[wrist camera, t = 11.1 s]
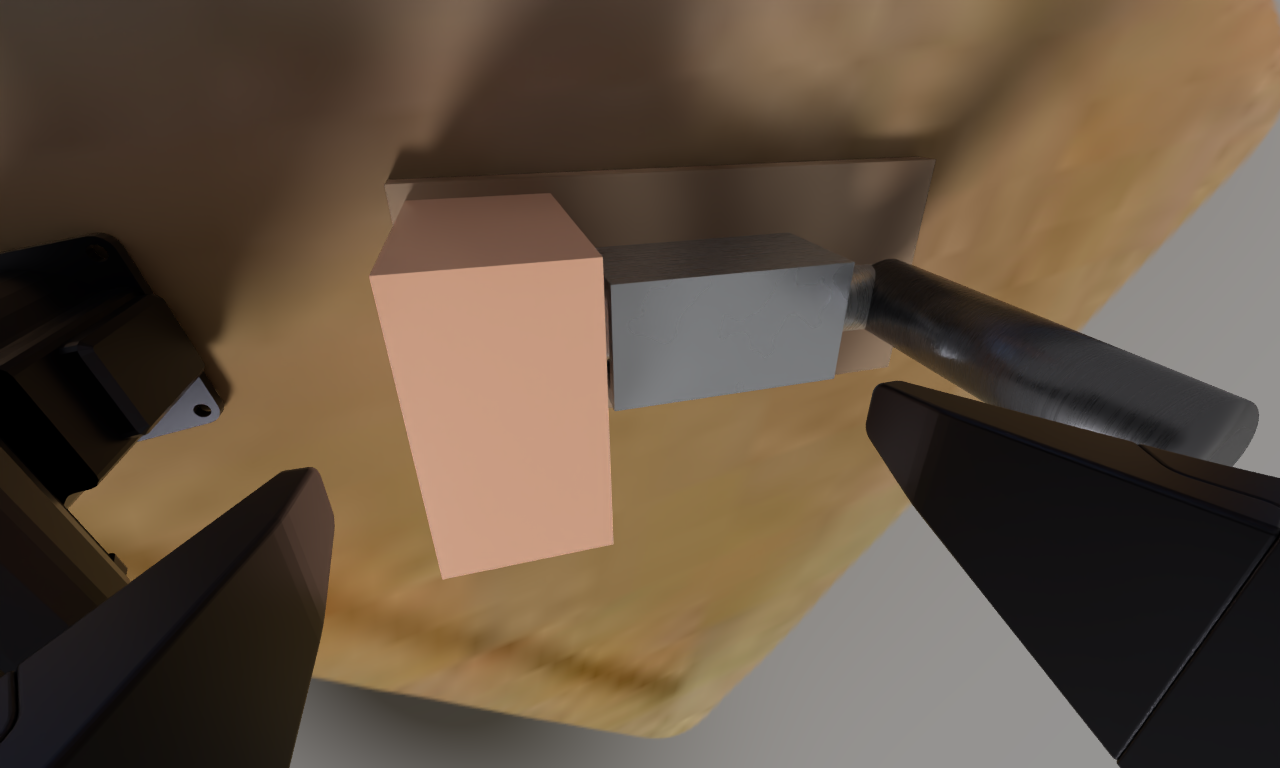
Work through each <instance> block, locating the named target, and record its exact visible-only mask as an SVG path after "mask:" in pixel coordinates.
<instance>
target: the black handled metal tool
mask: <svg viewBox="0 0 1280 768" xmlns="http://www.w3.org/2000/svg"><path fill="white" fill-rule="evenodd" d="M604 302H605V329H606V356H607V361H610V356H609V326H608V297H607V295H606V293H605V292H604ZM858 329H865V330H866V331H868V332H870V333H871V334H873V335H875V336H876V337H878V338H880V339H881V340H883V341H884V342H886V343H888V344H889V345H891V346H893V347H894V348H896V349H898V350H899V351H901V352H903V353H904V354H906V355H907V356H909V357H911V358H912V359H914V360H916V361H917V362H919V363H921V364H922V365H924V366H926V367H927V368H929V369H930V370H932V371H934V372H935V373H937V374H939V375H940V376H942V377H944V378H945V379H947V380H949V381H950V382H952V383H953V384H955V385H957V386H958V387H960V388H962V389H963V390H965V391H967V392H968V393H970V394H972V395H973V396H975V397H976V398H978V399H980V400H981V401H983V402H985V403H987V404H991V405H995V406H998V407H1002V408H1006V409H1010V410H1014V411H1018V412H1021V413H1025V414H1029V415H1033V416H1037V417H1040V418H1044V419H1048V420H1052V421H1056V422H1059V423H1063V424H1067V425H1071V426H1075V427H1078V428H1082V429H1086V430H1090V431H1094V432H1097V433H1101V434H1105V435H1109V436H1113V437H1117V438H1120V439H1124V440H1128V441H1132V442H1134V443H1136V444H1137V445H1138V444H1144V445H1147V446H1151V447H1155V448H1159V449H1163V450H1166V451H1170V452H1174V453H1178V454H1182V455H1186V456H1190V457H1194V458H1198V459H1202V460H1206V461H1210V462H1214V463H1218V464H1222V465H1226V466H1230V467H1232V466H1233V465H1234V464H1235V463H1236V462H1237V461H1238V459H1239V458H1240V457H1241V455H1242V454H1243V453H1244V451H1245V450H1246V448H1247V447H1248V445H1249V443H1250V442H1251V439H1252V438H1253V436H1254V434H1255V431H1256V428H1257V425H1258V421H1259V420H1258V419H1259V412H1258V409H1257V406H1256V405H1255V404H1254V403H1253V402H1251V401H1249V400H1247V399H1244V398H1242V397H1239V396H1237V395H1234V394H1232V393H1229V392H1226V391H1224V390H1222V389H1219V388H1217V387H1214V386H1212V385H1209V384H1207V383H1204V382H1202V381H1199V380H1197V379H1194V378H1192V377H1189V376H1187V375H1184V374H1182V373H1179V372H1177V371H1174V370H1172V369H1169V368H1167V367H1164V366H1162V365H1160V364H1157V363H1155V362H1152V361H1150V360H1147V359H1145V358H1142V357H1140V356H1137V355H1135V354H1132V353H1130V352H1127V351H1125V350H1122V349H1120V348H1117V347H1114V346H1112V345H1110V344H1107V343H1105V342H1102V341H1100V340H1097V339H1095V338H1092V337H1090V336H1087V335H1085V334H1082V333H1080V332H1077V331H1075V330H1072V329H1070V328H1067V327H1065V326H1063V325H1060V324H1058V323H1055V322H1053V321H1050V320H1048V319H1045V318H1043V317H1040V316H1038V315H1035V314H1033V313H1030V312H1028V311H1025V310H1023V309H1020V308H1018V307H1015V306H1013V305H1010V304H1008V303H1005V302H1003V301H1000V300H998V299H995V298H993V297H990V296H988V295H985V294H983V293H980V292H978V291H975V290H973V289H970V288H968V287H966V286H963V285H961V284H958V283H956V282H953V281H951V280H948V279H946V278H943V277H941V276H938V275H936V274H933V273H931V272H928V271H926V270H923V269H921V268H918V267H916V266H913V265H911V264H908V263H906V262H903V261H901V260H898V259H885V260H881V261H879V262H876V263H875V264H865V265H854V270H853V276H852V281H851V287H850V292H849V298H848V304H847V309H846V315H845V320H844V326H843V331H850V330H858Z"/></svg>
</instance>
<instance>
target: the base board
mask: <svg viewBox="0 0 1280 768" xmlns="http://www.w3.org/2000/svg"><path fill="white" fill-rule="evenodd" d="M935 161H936V159H930V158H924V157H897V158H874V159H851V160H828V161H805V162H782V163H759V164H736V165H713V166H690V167H667V168H644V169H621V170H598V171H575V172H552V173H529V174H506V175H483V176H460V177H437V178H414V179H391V180H387V181H386V183H385V184H384V187H385V191H386V196H387V201H388V205H389V210H390V215H391V220H392V224H393V225H394V223H395V220H396V218H397V216H398V214H399V212H400V210H401V208H402V206H403V204H404V202H405V201H407V200H427V199H446V198H465V197H484V196H503V195H522V194H542V193H551V194H552V196H553V197H554V198H555V199H556V201H557V202H558V203H559V204H560V205H561V207H562V208H563V209H564V210H565V212H566V213H567V214H568V215H569V216H570V218H571V219H572V220H573V221H574V223H575V224H576V225H577V226H578V227H579V229H580V230H581V231H582V232H583V234H584V235H585V236H586V237H587V238H588V240H589V241H590V242H591V243H592V245H593V246H594V247H607V246H620V245H633V244H646V243H659V242H672V241H685V240H698V239H711V238H724V237H737V236H750V235H763V234H776V233H792V234H794V235H796V236H798V237H800V238H803V239H805V240H807V241H809V242H812V243H814V244H816V245H818V246H820V247H823V248H825V249H827V250H829V251H831V252H834V253H836V254H838V255H840V256H842V257H845V258H847V259H849V260H851V261H853V262H855V265H865V264H875V263H876V262H879V261H881V260H885V259H898V260H901V261H903V262H906V263H908V264H911V265H912V261H913V257H914V252H915V248H916V244H917V239H918V235H919V231H920V226H921V222H922V218H923V213H924V209H925V205H926V200H927V196H928V192H929V187H930V183H931V179H932V174H933V170H934V166H935ZM892 348H893V346H891V345H889V344H888V343H886V342H884V341H883V340H881V339H880V338H878V337H876V336H875V335H873V334H871V333H870V332H868V331H866V330H865V329H858V330H850V331H842V337H841V342H840V348H839V353H838V359H837V364H836V370H835V375H836V374H843V373H850V372H857V371H864V370H870V369H877V368H884V367H888V365H889V361H890V357H891V352H892ZM608 408H612V404H611V402H610V400H609V398H608Z"/></svg>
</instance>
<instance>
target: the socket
mask: <svg viewBox="0 0 1280 768" xmlns="http://www.w3.org/2000/svg"><path fill="white" fill-rule="evenodd" d="M369 278H370V282H371V286H372V290H373V294H374V299H375V303H376V307H377V311H378V315H379V319H380V323H381V328H382V332H383V336H384V340H385V344H386V348H387V352H388V357H389V361H390V365H391V369H392V373H393V377H394V381H395V385H396V390H397V394H398V398H399V402H400V406H401V410H402V414H403V419H404V423H405V427H406V431H407V435H408V439H409V443H410V447H411V452H412V456H413V460H414V464H415V468H416V472H417V476H418V481H419V485H420V489H421V493H422V497H423V501H424V505H425V509H426V514H427V518H428V522H429V526H430V530H431V534H432V538H433V543H434V547H435V551H436V555H437V559H438V563H439V567H440V572H441V576H442V579H447V578H452V577H457V576H462V575H467V574H471V573H476V572H481V571H486V570H491V569H496V568H501V567H505V566H510V565H515V564H520V563H525V562H530V561H534V560H539V559H544V558H549V557H554V556H559V555H563V554H568V553H573V552H578V551H583V550H588V549H592V548H597V547H602V546H607V545H612V544H613V519H612V492H611V465H610V438H609V411H608V384H607V356H606V329H605V302H604V275H603V257H602V255H601V254H600V253H599V252H598V251H597V249H596V248H595V247H594V246H593V245H592V243H591V242H590V241H589V240H588V238H587V237H586V236H585V235H584V234H583V232H582V231H581V230H580V229H579V227H578V226H577V225H576V224H575V223H574V221H573V220H572V219H571V218H570V216H569V215H568V214H567V213H566V212H565V210H564V209H563V208H562V207H561V205H560V204H559V203H558V202H557V201H556V199H555V198H554V197H553V196H552V194H551V193H542V194H522V195H503V196H484V197H465V198H446V199H427V200H407V201H405V202H404V204H403V206H402V208H401V210H400V212H399V214H398V216H397V218H396V220H395V223H394V225H393V227H392V229H391V231H390V233H389V235H388V237H387V239H386V242H385V244H384V246H383V248H382V250H381V252H380V254H379V256H378V258H377V260H376V263H375V265H374V267H373V269H372V271H371V273H370V275H369Z"/></svg>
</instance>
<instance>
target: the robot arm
mask: <svg viewBox="0 0 1280 768" xmlns="http://www.w3.org/2000/svg"><path fill="white" fill-rule="evenodd" d="M94 245H99V246H101V247H103V248H104V249H105V250H106V251H107V252H108V255H109V256H108V258H103V257H100V256H99V255H98V254H97V253H95V251H94V248H93V247H94ZM204 368H205V364H204V362H203V361H202V359H201V358H200V356H199V354H198V353H197V351H196V350H195V348H194V346H193V345H192V343H191V342H190V340H189V339H188V337H187V335H186V334H185V332H184V331H183V329H182V328H181V326H180V324H179V323H178V321H177V320H176V318H175V317H174V315H173V313H172V312H171V310H170V309H169V307H168V305H167V304H166V302H165V301H164V299H162V298H160V297H159V296H157V295H155V294H154V293H153V292H152V290H151V288H150V287H149V285H148V284H147V282H146V281H145V279H144V278H143V276H142V274H141V273H140V271H139V270H138V268H137V267H136V265H135V263H134V262H133V260H132V259H131V257H130V256H129V254H128V253H127V251H126V249H125V248H124V246H123V245H122V244H121V243H120V242H119V241H118V240H117V239H115V238H114V237H112V236H110V235H107V234H104V233H92V234H87V235H82V236H77V237H72V238H67V239H63V240H58V241H53V242H48V243H43V244H38V245H33V246H28V247H23V248H19V249H14V250H9V251H4V252H0V768H289V767H290V763H291V759H292V755H293V751H294V746H295V742H296V738H297V734H298V730H299V726H300V722H301V718H302V714H303V709H304V705H305V701H306V697H307V693H308V689H309V685H310V681H311V676H312V672H313V668H314V664H315V660H316V656H317V652H318V648H319V644H320V639H321V634H322V629H323V624H324V617H325V609H326V600H327V591H328V582H329V573H330V564H331V555H332V546H333V537H334V527H335V525H334V515H333V511H332V508H331V505H330V502H329V499H328V496H327V493H326V490H325V487H324V484H323V481H322V478H321V476H320V474H319V472H318V471H317V469H315V468H313V467H306V468H299V469H292V470H285V471H282V472H280V473H279V474H277V475H276V476H275V477H273V478H272V479H271V480H269V481H268V482H266V483H265V484H264V485H262V486H261V487H260V488H258V489H257V490H256V491H254V492H253V493H251V494H250V495H249V496H247V497H246V498H245V499H243V500H242V501H241V502H239V503H238V504H236V505H235V506H234V507H232V508H231V509H230V510H228V511H227V512H226V513H224V514H223V515H221V516H220V517H219V518H217V519H216V520H215V521H213V522H212V523H211V524H209V525H208V526H206V527H205V528H204V529H202V530H201V531H200V532H198V533H197V534H196V535H194V536H193V537H191V538H190V539H189V540H187V541H186V542H185V543H183V544H182V545H180V546H179V547H178V548H176V549H175V550H174V551H172V552H171V553H170V554H168V555H167V556H165V557H164V558H163V559H161V560H160V561H159V562H157V563H156V564H155V565H153V566H152V567H150V568H149V569H148V570H146V571H145V572H144V573H142V574H141V575H140V576H138V577H137V578H135V579H134V580H133V581H131V582H130V580H129V578H128V577H127V576H126V574H127V567H126V566H125V565H124V563H123V562H122V561H121V560H120V559H119V558H118V557H117V556H116V555H115V554H114V553H110V554H108V553H107V552H106V551H105V550H104V549H103V548H102V546H101V545H100V544H99V543H98V542H97V541H96V540H95V539H94V538H93V537H92V536H91V534H90V533H89V532H88V531H87V530H86V529H85V528H84V527H83V526H82V525H81V524H80V522H79V521H78V520H77V519H76V518H75V517H74V516H73V515H72V514H71V513H70V512H69V510H68V508H69V507H70V506H71V505H72V504H73V503H74V502H75V501H76V499H77V498H78V497H79V496H80V495H81V494H82V493H83V492H84V491H85V490H89V489H92V488H94V487H96V486H97V485H98V484H99V483H100V482H101V481H102V480H103V479H104V478H105V476H106V475H107V474H108V473H109V472H110V471H111V470H112V469H113V468H114V466H115V465H116V464H117V463H118V462H119V461H120V460H121V459H122V458H123V457H124V455H125V454H126V453H127V452H128V451H129V450H130V449H131V448H132V447H133V445H134V444H135V443H136V442H138V441H142V440H146V439H150V438H154V437H157V436H161V435H165V434H169V433H173V432H177V431H180V430H184V429H188V428H192V427H196V426H200V425H203V424H207V423H211V422H213V421H215V420H216V419H217V418H218V417H219V416H220V414H221V413H222V412H223V410H224V404H223V401H222V399H221V398H220V396H219V395H218V393H217V392H216V390H215V388H214V387H213V385H212V384H211V382H210V381H209V379H208V377H207V376H206V374H205V373H204V371H203V370H204ZM198 404H204V405H207V406H208V407H210V408H211V411H204V410H202V409H201V408H199V406H198ZM866 431H867V435H868V437H869V439H870V440H871V442H872V443H873V445H874V447H875V448H876V450H877V451H878V453H879V454H880V456H881V457H882V459H883V460H884V462H885V464H886V465H887V467H888V468H889V470H890V471H891V473H892V474H893V476H894V478H895V479H896V481H897V482H898V484H899V485H900V487H901V488H902V490H903V491H904V493H905V494H906V496H907V497H908V499H909V500H910V502H911V503H912V505H913V506H914V507H915V509H916V510H917V511H918V513H919V514H920V515H921V517H923V519H924V520H925V521H926V523H927V524H928V525H929V527H930V528H931V529H932V530H933V532H934V533H935V534H936V535H937V537H938V538H939V539H940V540H941V542H942V543H943V544H944V545H945V547H946V548H947V549H948V551H949V552H950V553H951V554H952V556H953V557H954V558H955V559H956V561H957V562H958V563H959V564H960V566H961V567H962V568H963V569H964V571H965V572H966V573H967V574H968V576H969V577H970V578H971V580H972V581H973V582H974V583H975V585H976V586H977V587H978V588H979V590H980V591H981V592H982V593H983V595H984V596H985V597H986V598H987V600H988V601H989V602H990V603H991V604H992V606H993V607H994V609H995V610H996V611H997V612H998V614H999V615H1000V616H1001V617H1002V619H1003V620H1004V621H1005V622H1006V624H1007V625H1008V626H1009V627H1010V629H1011V630H1012V631H1013V632H1014V634H1015V635H1016V636H1017V637H1018V638H1019V640H1020V641H1021V643H1022V644H1023V645H1024V646H1025V648H1026V649H1027V650H1028V651H1029V653H1030V654H1031V655H1032V656H1033V658H1034V659H1035V660H1036V661H1037V663H1038V664H1039V665H1040V666H1041V668H1042V669H1043V670H1044V671H1045V673H1046V674H1047V675H1048V677H1049V678H1050V679H1051V680H1052V681H1053V683H1054V684H1055V685H1056V687H1057V688H1058V689H1059V690H1060V692H1061V693H1062V694H1063V696H1064V697H1065V698H1066V699H1067V700H1068V702H1069V703H1070V704H1071V706H1072V707H1073V708H1074V709H1075V711H1076V712H1077V713H1078V714H1079V716H1080V717H1081V718H1082V719H1083V721H1084V722H1085V723H1086V724H1087V726H1088V727H1089V728H1090V730H1091V731H1092V732H1093V733H1094V735H1095V736H1096V737H1097V738H1098V740H1099V741H1100V742H1101V743H1102V745H1103V746H1104V747H1105V748H1106V750H1107V751H1108V752H1109V754H1110V755H1111V756H1112V757H1113V758H1114V759H1116V760H1117V764H1118V766H1119V767H1120V768H1280V478H1277V477H1273V476H1268V475H1264V474H1260V473H1256V472H1251V471H1247V470H1243V469H1238V468H1235V467H1230V466H1226V465H1222V464H1218V463H1214V462H1210V461H1206V460H1202V459H1198V458H1194V457H1190V456H1186V455H1182V454H1178V453H1174V452H1170V451H1166V450H1163V449H1159V448H1155V447H1151V446H1147V445H1144V444H1138V445H1137V444H1136V443H1134V442H1132V441H1128V440H1124V439H1120V438H1117V437H1113V436H1109V435H1105V434H1101V433H1097V432H1094V431H1090V430H1086V429H1082V428H1078V427H1075V426H1071V425H1067V424H1063V423H1059V422H1056V421H1052V420H1048V419H1044V418H1040V417H1037V416H1033V415H1029V414H1025V413H1021V412H1018V411H1014V410H1010V409H1006V408H1002V407H998V406H995V405H991V404H987V403H983V402H979V401H976V400H972V399H968V398H964V397H960V396H957V395H953V394H949V393H945V392H941V391H938V390H934V389H930V388H926V387H922V386H919V385H915V384H911V383H907V382H903V381H892V382H886V383H880V384H878V385H877V386H876V387H875V389H874V390H873V393H872V398H871V402H870V407H869V411H868V416H867V420H866Z"/></svg>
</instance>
